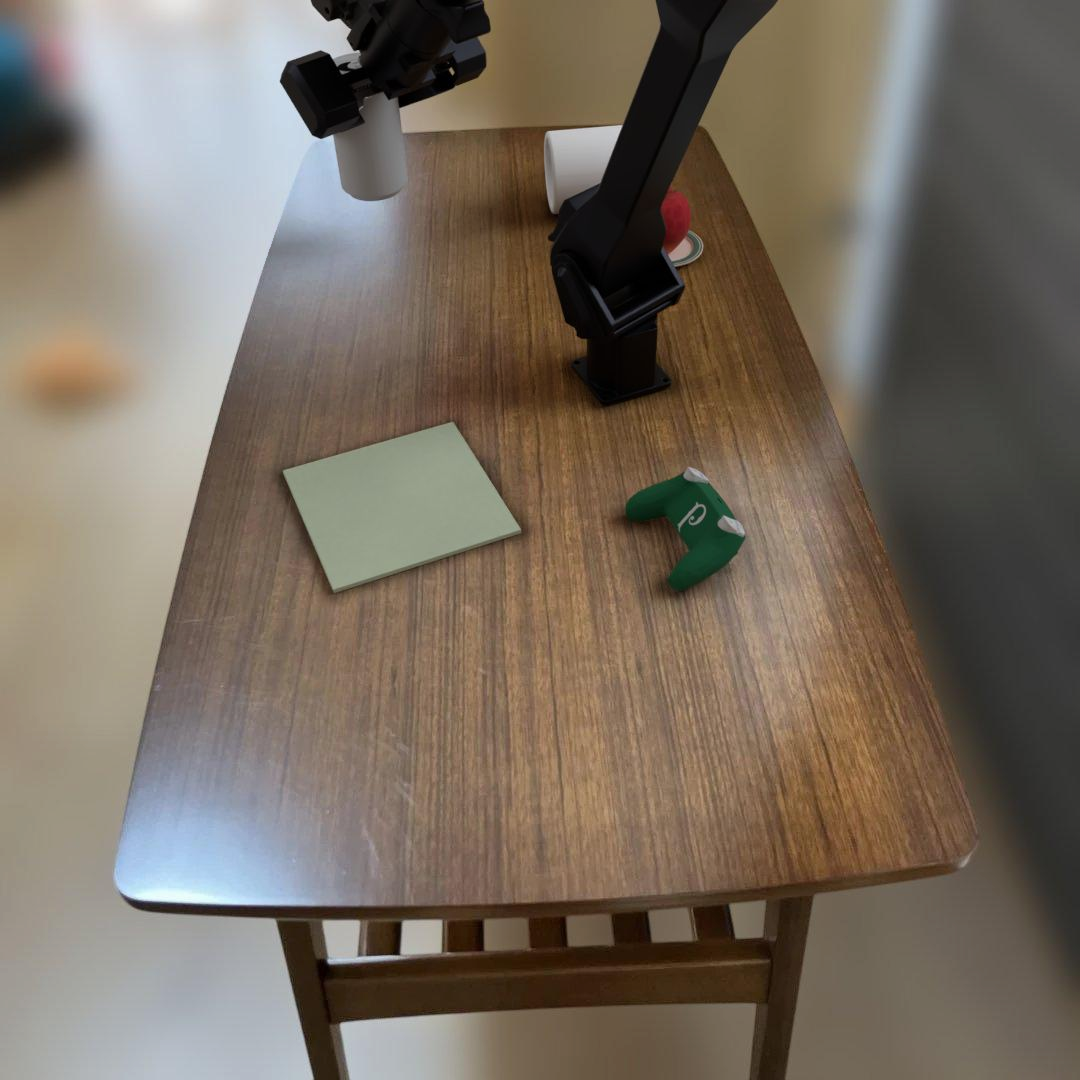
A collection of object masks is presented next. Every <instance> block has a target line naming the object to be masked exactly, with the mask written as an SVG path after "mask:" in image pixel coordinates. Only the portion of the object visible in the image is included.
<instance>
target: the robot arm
mask: <svg viewBox="0 0 1080 1080" xmlns="http://www.w3.org/2000/svg"><path fill="white" fill-rule="evenodd" d="M654 1H655V4H656V9H657V14H658V18H659V29H658V32H657V33H656V34H657V35H656V37H655V39H654V42H653V45H652V48H651V50H650V52H649V55H648V57H647V60H646V63H645V65H644V68H643V71H642V74H641V75H640V79H639V82H638V84H637V87H636V89H635V92H634V95H633V97H632V98H631V102H630V104H629V107H628V110H627V112H626V115H625V117H624V121H623V123H622V124H621V125H622V128H621V130H620V133H619V136H618V138H617V141H616V143H615V146H614V149H613V151H612V154H611V156H610V159H609V162H608V164H607V167H606V169H605V172H604V175H603V177H602V180H601V182H600V183H599V184H597V185H595V186H593V187H591V188H589V189H587V190H584V191H582V192H580V193H578V194H576V195H574V196H572V197H570V198H568V199H565V200H564V201H563V203H562V205H561V207H560V209H559V214H557V219H556V220H557V221H556V224H555V227H554V229H553V231H552V232H551V233H550V234H548V235H547V240H548V241H549V242H551V243H552V245H551V247H550V253H549V264H550V267H551V275H552V279H553V282H554V287H555V289H556V293H557V297H558V300H559V304H560V308H561V311H562V312H561V313H562V315H563V319H564V322H565V324H567V325H569V326H570V327H572V328H574V331H576V333H575V334H576V335H575V336H576V337H577V338H579V339H580V340H586V356H582V357H578V358H575V359H573V360H571V363H570V367H571V370H572V371H574V373H575V374H576V375H577V377H578V378H579V380H581V382H582V383H583V384H584V385H585V387H586V388H587V389H588V391H589V392H590V393H591V394H592V395H593V397H594V398H595V399H596V400H597V401H598V403H599V404H600V405H601V406H610V405H613V404H616V403H621V402H623V401H627V400H630V399H634V398H637V397H640V396H643V395H644V396H645V395H647V394H651V393H654V392H657V391H661V390H664V389H668V388H670V387H671V386H672V378H671V377H670V376H669V375H668V374H667V373H666V372H665V371H664V369H663V368H662V367H661V366H660V365H659V364H658V363H657V352H658V333H659V332H658V331H659V326H658V318H659V317H658V316H659V313H662V312H663V311H665V310H667V309H668V308H670V307H675V306H676V305H678V304H679V303H680V301H681V299H682V296H683V293H684V292H685V289H686V284H685V282H684V280H683V279H682V277H681V275H680V273H679V272H678V270H677V268H676V267H674V265H673V263H672V261H671V259H670V258H669V256H668V254H667V252H666V251H665V249H664V247H663V243H664V239H665V235H666V225H665V221H664V218H663V214H662V211H661V206H662V203H663V201H664V198H665V196H666V194H667V192H668V190H669V188H671V186H672V183H673V181H674V179H675V176H676V174H677V172H678V170H679V168H680V166H681V163H682V162H683V159H684V157H685V155H686V153H687V150H688V148H689V146H690V144H691V142H692V140H693V137H694V135H695V133H696V131H697V129H698V126H699V124H700V122H701V120H702V117H703V115H704V113H705V111H706V109H707V107H708V105H709V102H710V101H711V98H712V96H713V94H714V91H715V90H716V87H717V85H718V83H719V80H720V79H721V77H722V74H723V72H724V70H725V67H726V65H727V63H728V61H729V59H730V56H731V54H732V52H733V51H734V49H735V47H736V46H737V45H738V43H739V42H740V41H741V40H742V39H744V38H745V36H746V35H748V33H749V32H750V31H751V30H752V29H754V27H755V26H756V25H758V23H759V22H760V21H761V20H763V18H764V17H765V16H766V15H767V14H768V13H770V11H771V10H772V9H773V8H774V7H775V6H776V4H777V3H778V2H779V0H654ZM310 3H311V5H312V8H314V9H315V10H316V12H318V14H319V15H320V16H322V18H323V19H324V20H325V21H326V22H328V23H329V22H333V21H335V20H340V21H341V22H342V23H343V24H344V25H345V26H346V27H347V28H348V29H349V30H350V31H349V32H348V34H347V36H346V38H345V39H346V41H347V42H348V44H349V46H350V47H351V49H352V51H353V52H357V51H358V53H361V55H360V56H359V57H358V62H359V64H360V65H361V66H362V67H361V68H358V69H356V70H353V71H350V72H347V73H345V74H341V72H340V70H339V69H338V67H337V65H336V64H335V62H334V60H333V59H334V58H333V57H332V55H331V54H330V53H328V52H326V51H323V50H321V49H319V50H317V51H314V52H312V53H309V54H306V55H303V56H300V57H297V58H295V59H291V60H287V62H286V64H285V66H284V68H283V70H282V71H281V74H280V78H279V83H280V85H281V86H282V88H283V90H284V92H285V93H286V96H287V97H288V98H289V100H290V102H291V103H292V105H293V106H294V108H295V110H296V111H297V113H298V114H299V116H300V118H301V120H302V121H303V123H304V124H305V126H306V128H307V130H308V132H309V133H310V134H311V136H312V137H315V138H316V139H319V140H323V139H327V138H328V137H331V136H333V135H334V134H336V133H342V132H345V131H347V130H350V129H352V128H355V127H357V126H360V125H362V124H365V121H364V119H363V117H362V116H361V114H360V112H359V111H360V110H361V109H362V108H363V106H364V100H366V99H369V98H371V97H374V96H377V95H379V94H382V93H384V94H385V95H386V97H387V99H388V100H391V99H394V98H396V97H398V102H399V109H402V108H405V107H408V106H410V105H414V104H416V103H419V102H422V101H425V100H428V99H431V98H433V97H436V96H439V95H441V94H443V93H446V92H448V91H451V90H454V88H455V87H458V86H460V85H464V84H466V83H468V82H471V81H474V80H477V79H478V78H479V77H480V76H481V75H482V73H483V72H484V71H485V70H486V68H487V66H488V65H487V63H488V61H487V60H488V58H487V51H486V49H485V47H484V46H483V44H482V42H481V40H480V39H479V38H480V37H482V36H485V35H488V34H490V33H491V30H492V26H491V19H490V17H489V15H488V13H487V11H486V9H485V1H484V0H310ZM451 69H452V72H453V73H452V72H451ZM365 86H366V87H365Z"/></svg>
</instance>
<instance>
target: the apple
mask: <svg viewBox="0 0 1080 1080" xmlns="http://www.w3.org/2000/svg"><path fill="white" fill-rule="evenodd" d="M661 211H662V214H663V218H664V221H665V225H666V235H665V239H664V243H663V247H664V249H665V251H666V252H667V254H668V256H669V258H670V259H671V261H672V263H673V265H674V267H675V268H676V267H681V266H685V265H688V264H691V263H692V262H694V261H696V260H697V259H699V257H700V256H701V255H702V254H703V250H704V242H703V240H702V239H701V238H700V237H699V235H697V234H696V233H695V232H693V231H691V230H690V228H691V222H692V213H691V207H690V204H689V201H688V199H687V198H686V197H685V196H684V195H683V194H682V193H681V192H680V191H679V190H676V189H674V188H671V187H670V188H669V190H668V192H667V194H666V196H665V198H664V201H663V203H662V206H661Z"/></svg>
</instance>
